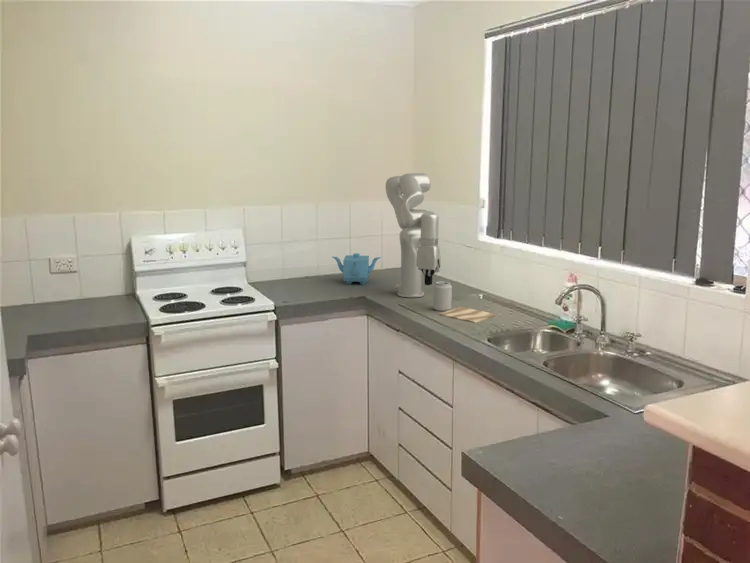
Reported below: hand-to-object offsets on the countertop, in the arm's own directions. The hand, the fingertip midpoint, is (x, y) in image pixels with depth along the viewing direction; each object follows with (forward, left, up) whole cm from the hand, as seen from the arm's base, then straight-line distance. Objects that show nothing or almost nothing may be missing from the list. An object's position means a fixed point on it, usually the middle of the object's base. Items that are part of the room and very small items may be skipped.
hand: (428, 284), depth 289 cm
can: (+8, 0, -10) cm, 13 cm away
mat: (+21, 0, -10) cm, 23 cm away
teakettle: (-56, +14, -10) cm, 59 cm away
